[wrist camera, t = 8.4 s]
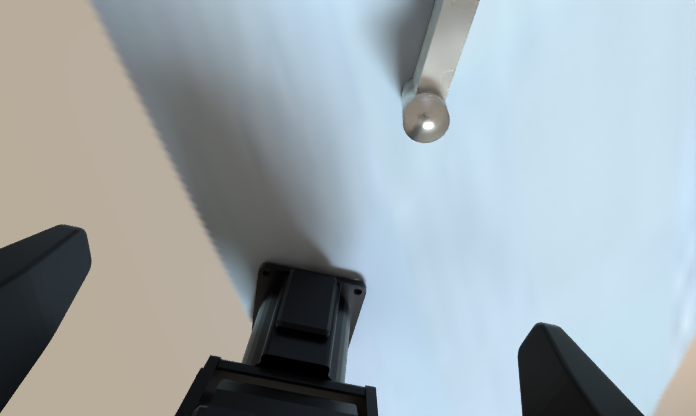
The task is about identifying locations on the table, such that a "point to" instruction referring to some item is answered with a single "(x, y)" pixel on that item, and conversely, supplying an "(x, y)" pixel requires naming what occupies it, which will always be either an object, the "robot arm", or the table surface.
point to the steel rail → (436, 70)
